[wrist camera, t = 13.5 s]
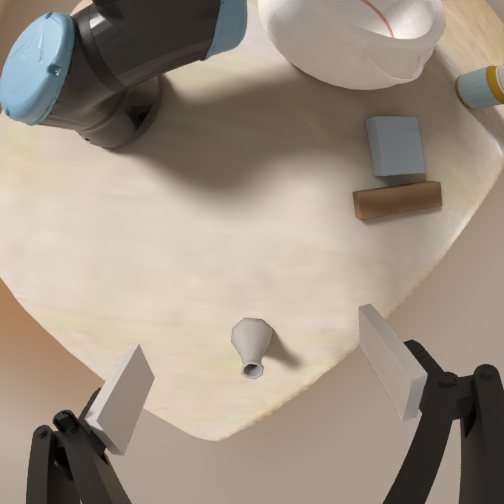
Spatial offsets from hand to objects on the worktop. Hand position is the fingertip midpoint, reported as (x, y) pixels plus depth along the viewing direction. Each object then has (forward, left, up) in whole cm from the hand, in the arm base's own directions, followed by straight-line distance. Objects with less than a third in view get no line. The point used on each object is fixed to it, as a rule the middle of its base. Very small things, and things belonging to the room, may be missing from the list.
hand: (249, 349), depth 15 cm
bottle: (-21, +47, -29) cm, 59 cm away
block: (-2, +25, -29) cm, 38 cm away
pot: (-32, +21, -29) cm, 48 cm away
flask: (+17, -3, -29) cm, 34 cm away
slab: (-6, +25, -27) cm, 37 cm away
